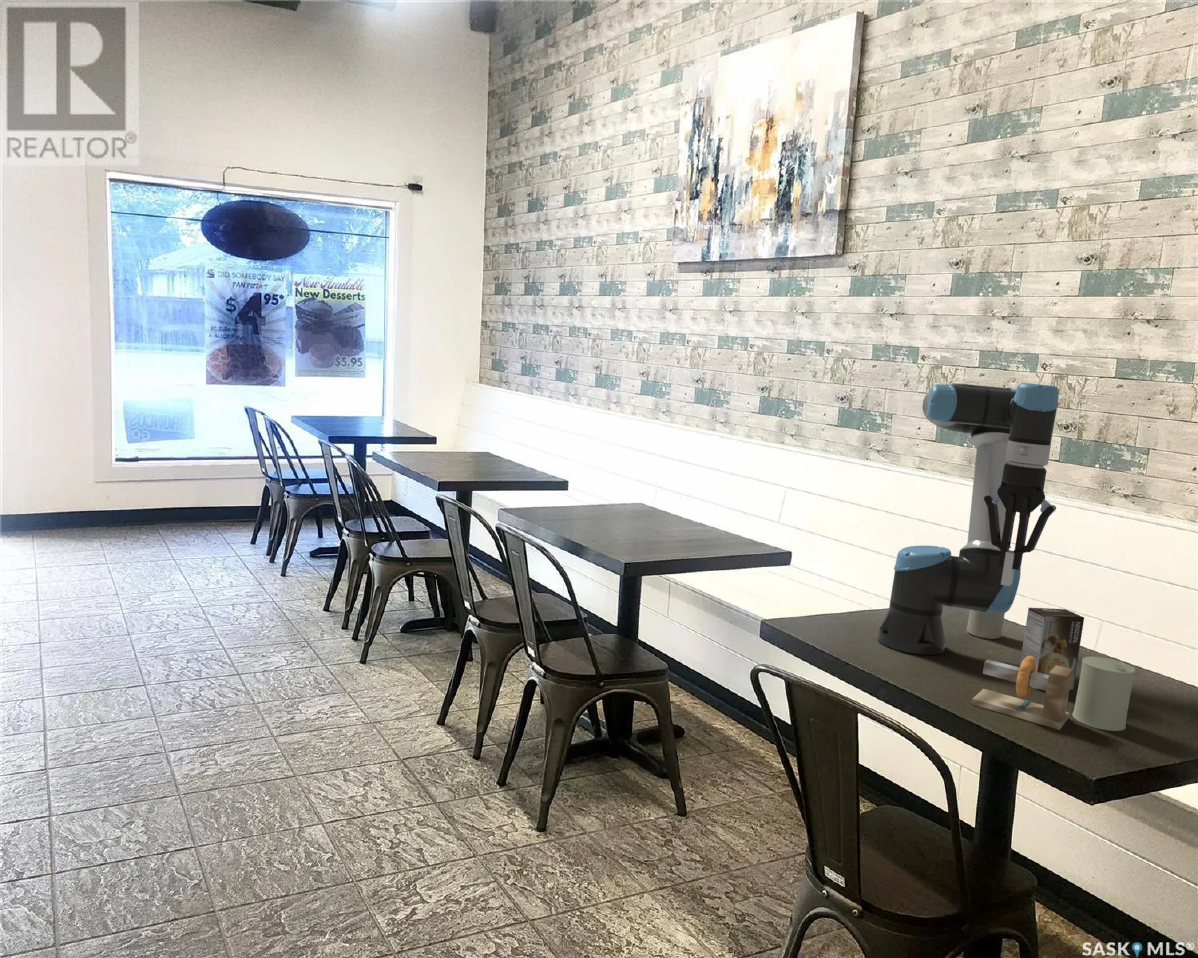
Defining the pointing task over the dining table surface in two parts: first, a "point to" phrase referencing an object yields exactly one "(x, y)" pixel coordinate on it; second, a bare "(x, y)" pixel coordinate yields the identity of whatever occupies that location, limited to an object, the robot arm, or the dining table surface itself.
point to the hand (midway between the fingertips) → (1006, 584)
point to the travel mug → (985, 624)
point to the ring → (1025, 677)
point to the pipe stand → (1044, 714)
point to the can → (1104, 693)
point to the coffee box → (1053, 639)
